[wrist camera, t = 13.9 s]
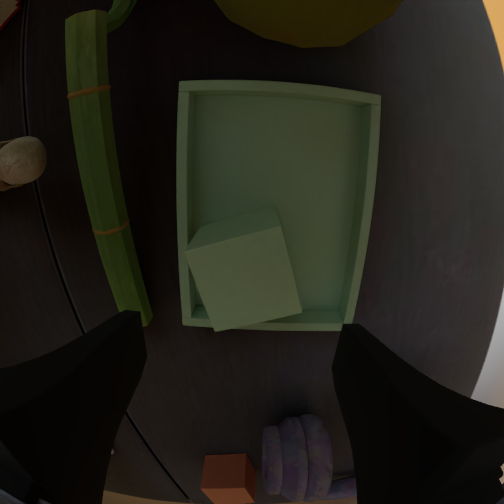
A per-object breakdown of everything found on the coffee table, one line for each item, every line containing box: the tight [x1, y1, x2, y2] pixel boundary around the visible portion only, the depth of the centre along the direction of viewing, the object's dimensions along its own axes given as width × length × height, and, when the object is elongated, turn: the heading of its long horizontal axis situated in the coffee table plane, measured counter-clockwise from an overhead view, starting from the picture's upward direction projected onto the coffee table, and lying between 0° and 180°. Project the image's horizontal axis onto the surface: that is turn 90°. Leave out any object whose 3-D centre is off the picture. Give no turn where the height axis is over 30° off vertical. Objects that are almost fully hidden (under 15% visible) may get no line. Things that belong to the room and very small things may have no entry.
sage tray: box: [176, 80, 381, 331], centre depth 17 cm, size 14×11×2 cm
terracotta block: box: [200, 453, 255, 504], centre depth 25 cm, size 4×4×4 cm
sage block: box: [184, 205, 302, 332], centre depth 16 cm, size 4×4×4 cm
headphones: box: [262, 414, 357, 502], centre depth 23 cm, size 18×8×20 cm
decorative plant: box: [65, 0, 153, 327], centre depth 14 cm, size 6×8×30 cm
